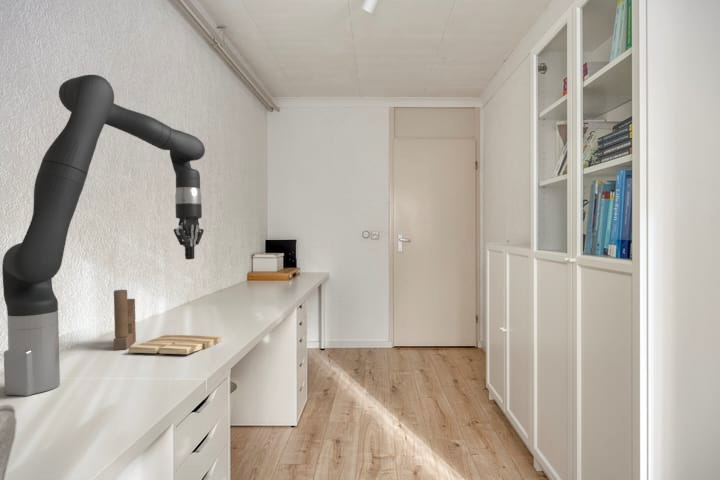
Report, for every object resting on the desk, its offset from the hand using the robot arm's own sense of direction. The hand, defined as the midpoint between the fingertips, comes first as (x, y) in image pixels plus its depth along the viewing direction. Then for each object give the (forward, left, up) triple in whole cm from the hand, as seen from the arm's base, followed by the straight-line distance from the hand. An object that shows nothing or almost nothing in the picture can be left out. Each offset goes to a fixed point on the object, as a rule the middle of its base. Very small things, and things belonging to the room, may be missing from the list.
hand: (190, 259), depth 136 cm
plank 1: (-7, +9, -27) cm, 29 cm away
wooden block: (-2, +22, -27) cm, 35 cm away
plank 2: (-7, -1, -27) cm, 28 cm away
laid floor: (+2, +4, -27) cm, 27 cm away
